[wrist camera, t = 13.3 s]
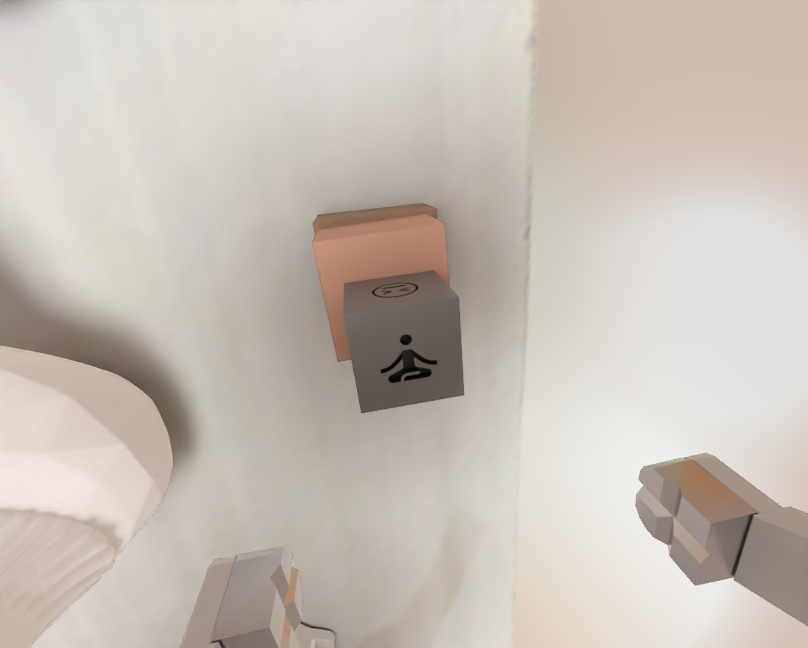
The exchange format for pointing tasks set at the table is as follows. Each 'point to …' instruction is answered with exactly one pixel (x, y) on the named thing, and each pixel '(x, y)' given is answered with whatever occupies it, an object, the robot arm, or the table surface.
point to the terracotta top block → (375, 259)
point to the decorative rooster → (69, 482)
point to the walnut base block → (371, 215)
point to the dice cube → (403, 340)
